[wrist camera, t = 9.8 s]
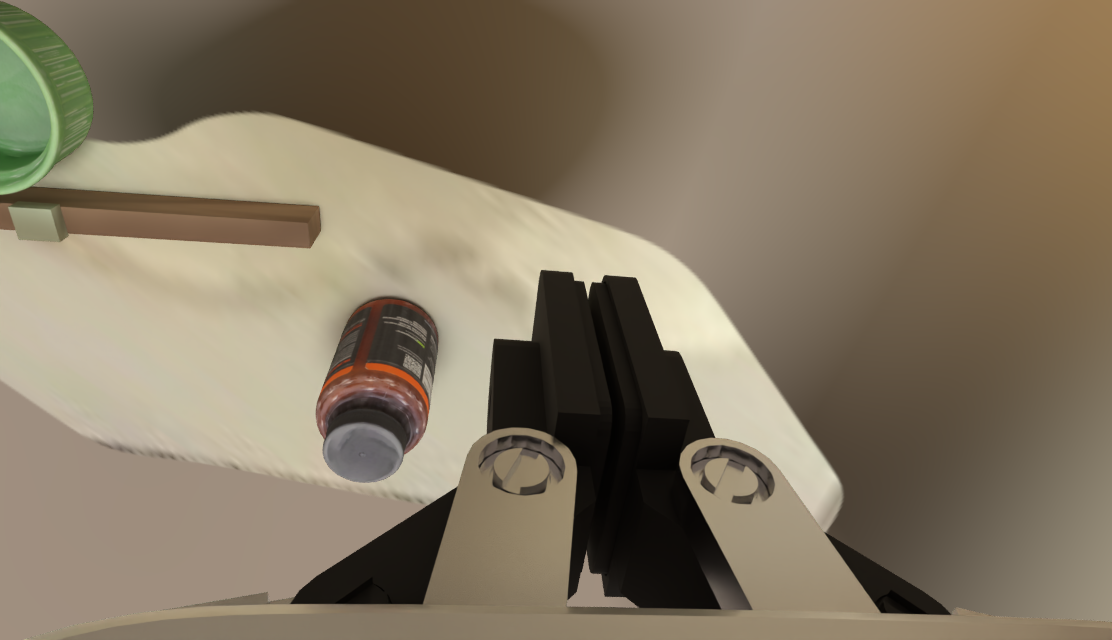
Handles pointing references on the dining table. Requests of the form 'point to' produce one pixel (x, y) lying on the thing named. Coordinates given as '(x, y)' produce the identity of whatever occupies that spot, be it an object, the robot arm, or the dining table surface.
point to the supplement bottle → (377, 390)
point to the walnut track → (156, 218)
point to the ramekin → (37, 100)
